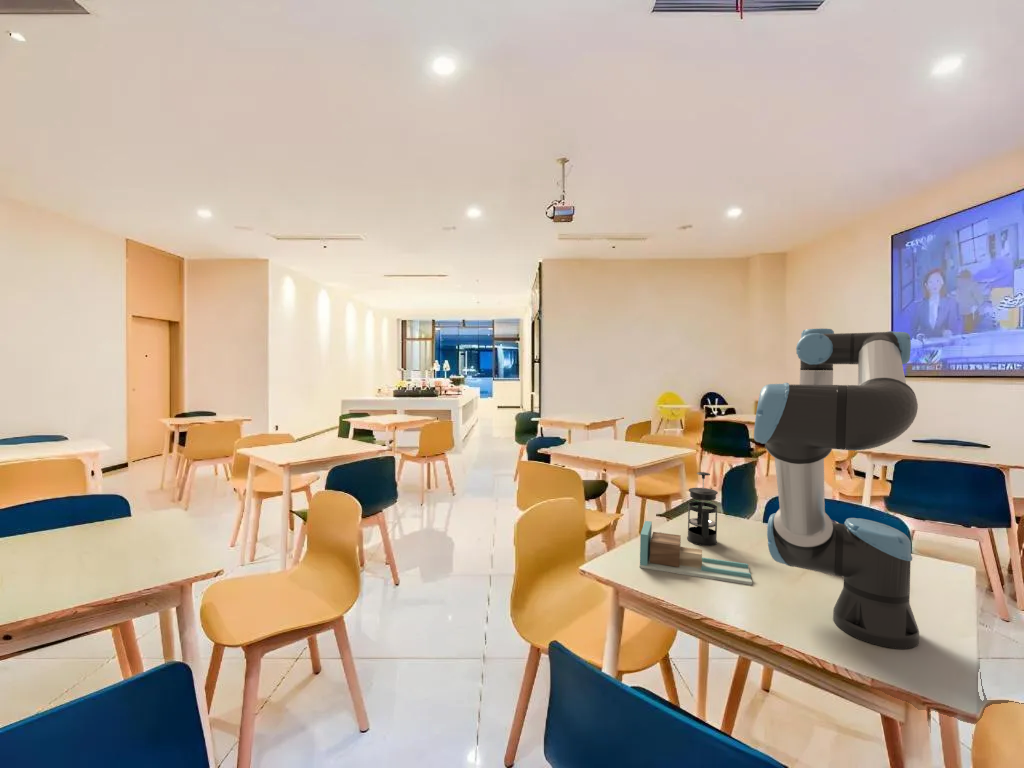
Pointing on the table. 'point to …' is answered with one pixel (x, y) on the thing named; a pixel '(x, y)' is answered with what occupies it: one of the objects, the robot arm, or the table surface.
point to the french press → (702, 516)
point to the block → (665, 549)
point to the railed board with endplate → (708, 569)
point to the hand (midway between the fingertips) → (813, 474)
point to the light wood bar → (690, 557)
